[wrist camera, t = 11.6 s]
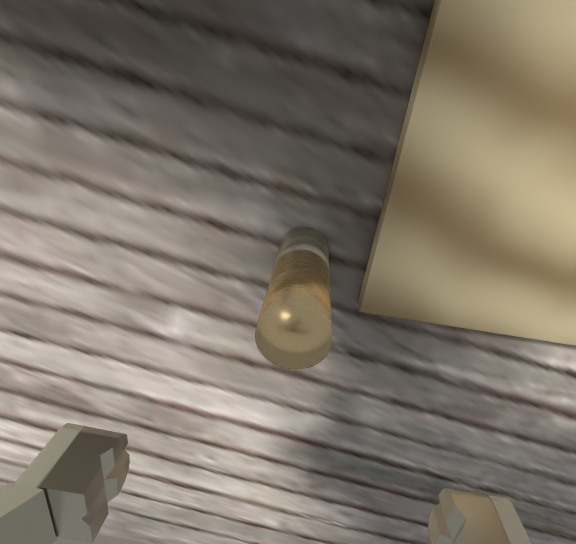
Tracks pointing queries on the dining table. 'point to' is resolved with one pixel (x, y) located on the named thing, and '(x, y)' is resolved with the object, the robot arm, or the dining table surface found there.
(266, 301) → the amber glass vial
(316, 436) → the dining table surface
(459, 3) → the panel
